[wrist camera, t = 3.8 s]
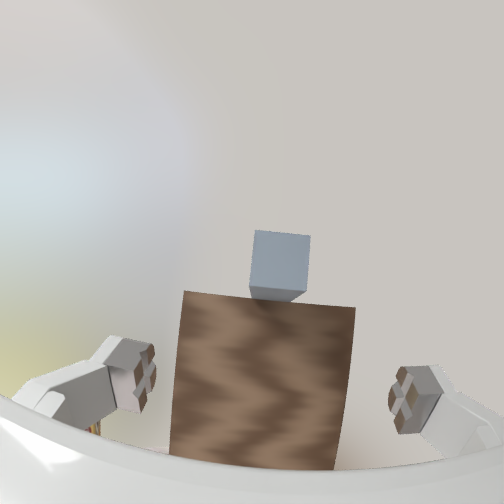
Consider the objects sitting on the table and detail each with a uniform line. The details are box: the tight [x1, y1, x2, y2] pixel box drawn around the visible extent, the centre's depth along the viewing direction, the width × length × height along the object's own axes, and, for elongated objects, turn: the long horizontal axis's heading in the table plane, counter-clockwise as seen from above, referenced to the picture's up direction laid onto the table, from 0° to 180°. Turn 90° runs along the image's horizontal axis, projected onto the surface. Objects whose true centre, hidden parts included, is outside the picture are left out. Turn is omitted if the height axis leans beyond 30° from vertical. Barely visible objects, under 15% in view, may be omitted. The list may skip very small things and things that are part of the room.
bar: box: [249, 230, 310, 302], centre depth 30 cm, size 3×26×3 cm, turn 179°
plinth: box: [169, 291, 356, 471], centre depth 30 cm, size 14×14×26 cm
